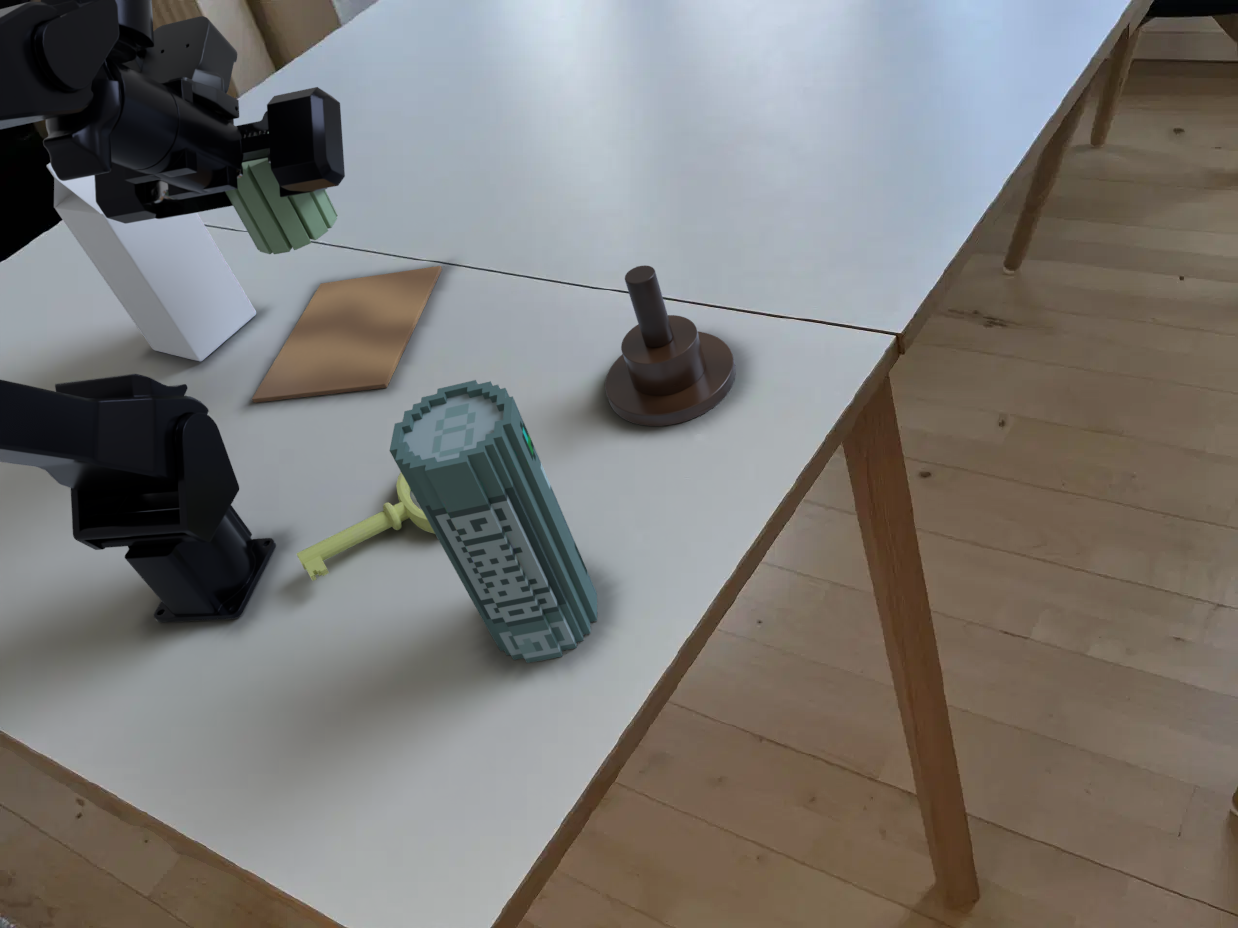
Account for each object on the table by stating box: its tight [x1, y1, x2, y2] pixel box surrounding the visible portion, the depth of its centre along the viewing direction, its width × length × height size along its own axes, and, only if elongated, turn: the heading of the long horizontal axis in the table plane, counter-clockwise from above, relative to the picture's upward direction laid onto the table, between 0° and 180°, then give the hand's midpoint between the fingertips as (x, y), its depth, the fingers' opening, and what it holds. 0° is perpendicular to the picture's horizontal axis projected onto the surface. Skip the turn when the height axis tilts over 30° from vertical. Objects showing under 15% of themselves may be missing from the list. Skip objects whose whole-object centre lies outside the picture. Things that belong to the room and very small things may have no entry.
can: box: [389, 379, 598, 664], centre depth 56 cm, size 6×6×15 cm
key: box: [296, 472, 436, 582], centre depth 69 cm, size 7×12×2 cm, turn 139°
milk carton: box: [46, 162, 257, 362], centre depth 90 cm, size 7×7×19 cm
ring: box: [225, 132, 338, 255], centre depth 81 cm, size 7×7×7 cm
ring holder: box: [604, 265, 737, 427], centre depth 71 cm, size 9×9×9 cm
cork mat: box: [251, 265, 443, 404], centre depth 89 cm, size 16×12×1 cm
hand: (287, 189), depth 82 cm, fingers closed on ring, 6 cm apart
